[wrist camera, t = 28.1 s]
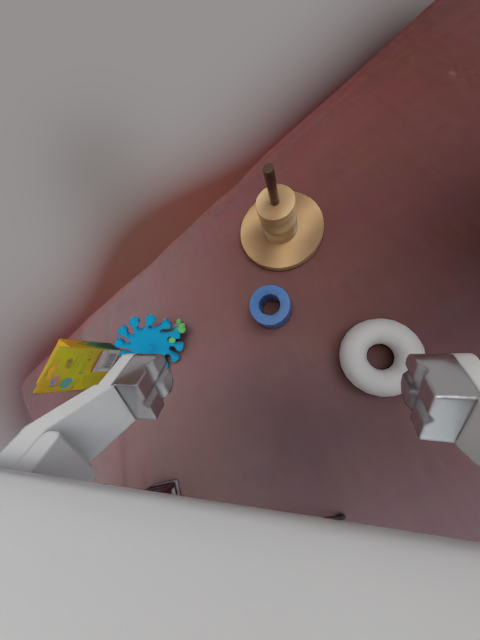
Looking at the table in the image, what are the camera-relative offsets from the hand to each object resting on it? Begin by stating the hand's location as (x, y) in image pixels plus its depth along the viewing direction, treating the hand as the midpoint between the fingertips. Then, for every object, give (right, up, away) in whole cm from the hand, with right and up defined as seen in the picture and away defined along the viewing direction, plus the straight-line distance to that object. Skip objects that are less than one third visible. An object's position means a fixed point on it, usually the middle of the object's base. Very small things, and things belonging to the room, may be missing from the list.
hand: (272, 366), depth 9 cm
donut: (+17, -3, +26) cm, 31 cm away
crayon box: (-25, -6, +37) cm, 45 cm away
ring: (+4, +3, +30) cm, 31 cm away
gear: (-13, -3, +34) cm, 37 cm away
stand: (+6, +16, +32) cm, 36 cm away
